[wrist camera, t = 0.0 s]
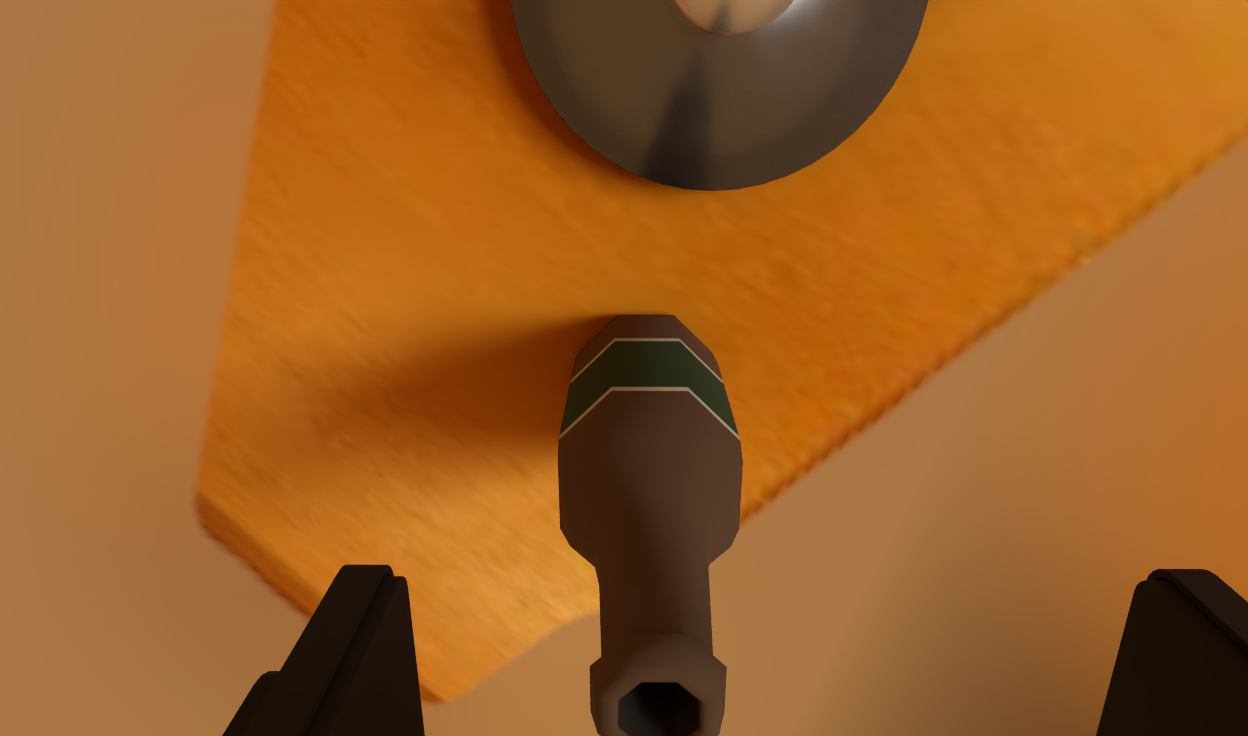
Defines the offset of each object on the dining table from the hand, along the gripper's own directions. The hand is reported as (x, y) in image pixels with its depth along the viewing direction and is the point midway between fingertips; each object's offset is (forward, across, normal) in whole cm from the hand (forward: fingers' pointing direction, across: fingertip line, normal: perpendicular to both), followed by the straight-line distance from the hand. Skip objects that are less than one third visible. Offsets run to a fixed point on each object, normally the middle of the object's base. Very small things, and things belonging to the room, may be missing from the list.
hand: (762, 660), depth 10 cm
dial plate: (+31, -2, -11) cm, 33 cm away
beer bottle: (+31, +1, +8) cm, 32 cm away
